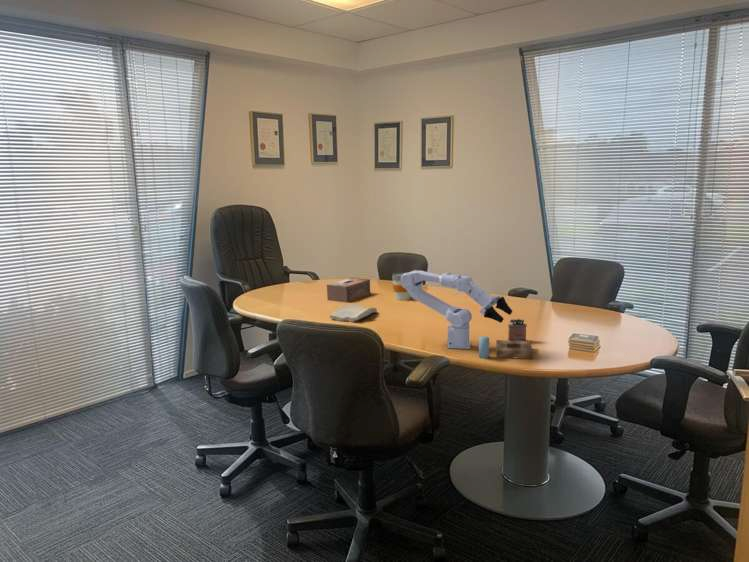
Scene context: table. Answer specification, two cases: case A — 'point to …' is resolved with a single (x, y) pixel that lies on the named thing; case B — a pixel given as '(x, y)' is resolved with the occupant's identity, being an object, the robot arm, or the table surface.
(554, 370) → the table surface
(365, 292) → the tissue box cover
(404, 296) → the reusable coffee cup
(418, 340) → the table surface
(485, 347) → the peg
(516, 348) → the socket block
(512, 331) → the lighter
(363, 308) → the folded grey cloth
